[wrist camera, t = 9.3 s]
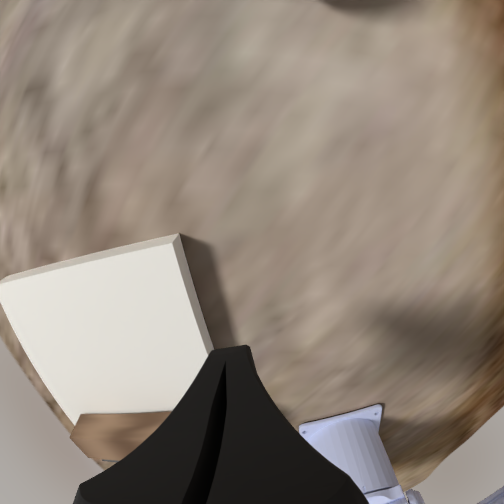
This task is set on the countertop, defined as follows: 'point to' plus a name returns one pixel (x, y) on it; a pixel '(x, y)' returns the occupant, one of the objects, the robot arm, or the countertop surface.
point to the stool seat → (112, 328)
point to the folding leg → (114, 433)
